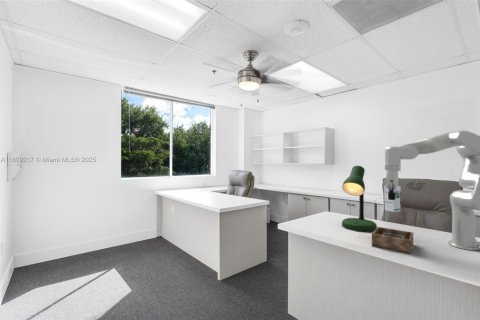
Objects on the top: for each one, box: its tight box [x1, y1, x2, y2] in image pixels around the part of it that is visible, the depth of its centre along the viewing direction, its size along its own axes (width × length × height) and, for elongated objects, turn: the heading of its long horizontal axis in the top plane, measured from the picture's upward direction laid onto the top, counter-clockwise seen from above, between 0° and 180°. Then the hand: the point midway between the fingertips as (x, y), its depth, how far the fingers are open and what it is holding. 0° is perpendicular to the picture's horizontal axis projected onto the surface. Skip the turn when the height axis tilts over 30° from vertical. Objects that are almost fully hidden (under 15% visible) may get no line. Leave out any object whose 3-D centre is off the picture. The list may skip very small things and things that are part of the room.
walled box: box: [371, 226, 414, 255], centre depth 133 cm, size 18×18×7 cm
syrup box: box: [383, 185, 402, 213], centre depth 133 cm, size 6×6×14 cm
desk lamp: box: [341, 165, 378, 233], centre depth 166 cm, size 31×23×45 cm
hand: (392, 198), depth 133 cm, fingers closed on syrup box, 7 cm apart
